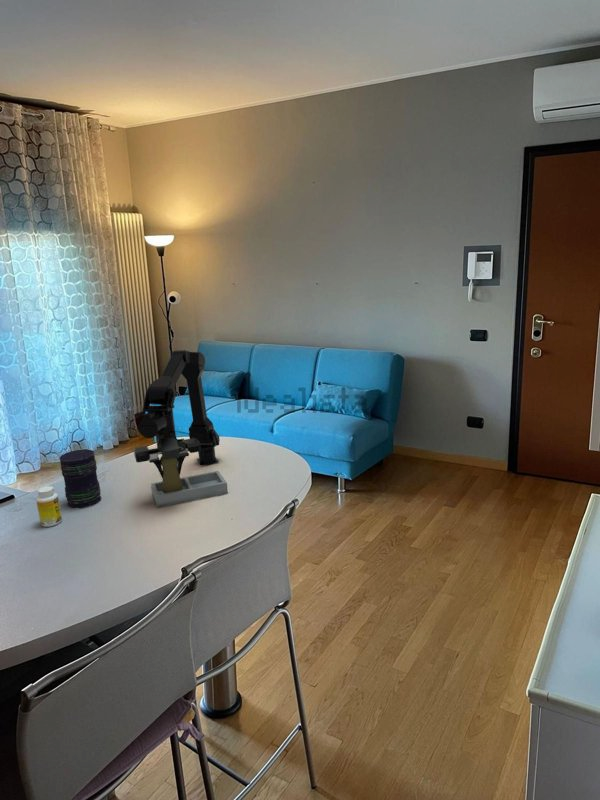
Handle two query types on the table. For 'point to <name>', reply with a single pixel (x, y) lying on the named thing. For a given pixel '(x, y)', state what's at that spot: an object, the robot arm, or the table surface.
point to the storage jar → (80, 478)
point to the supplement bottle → (48, 507)
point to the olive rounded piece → (170, 475)
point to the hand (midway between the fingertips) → (170, 476)
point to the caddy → (191, 489)
